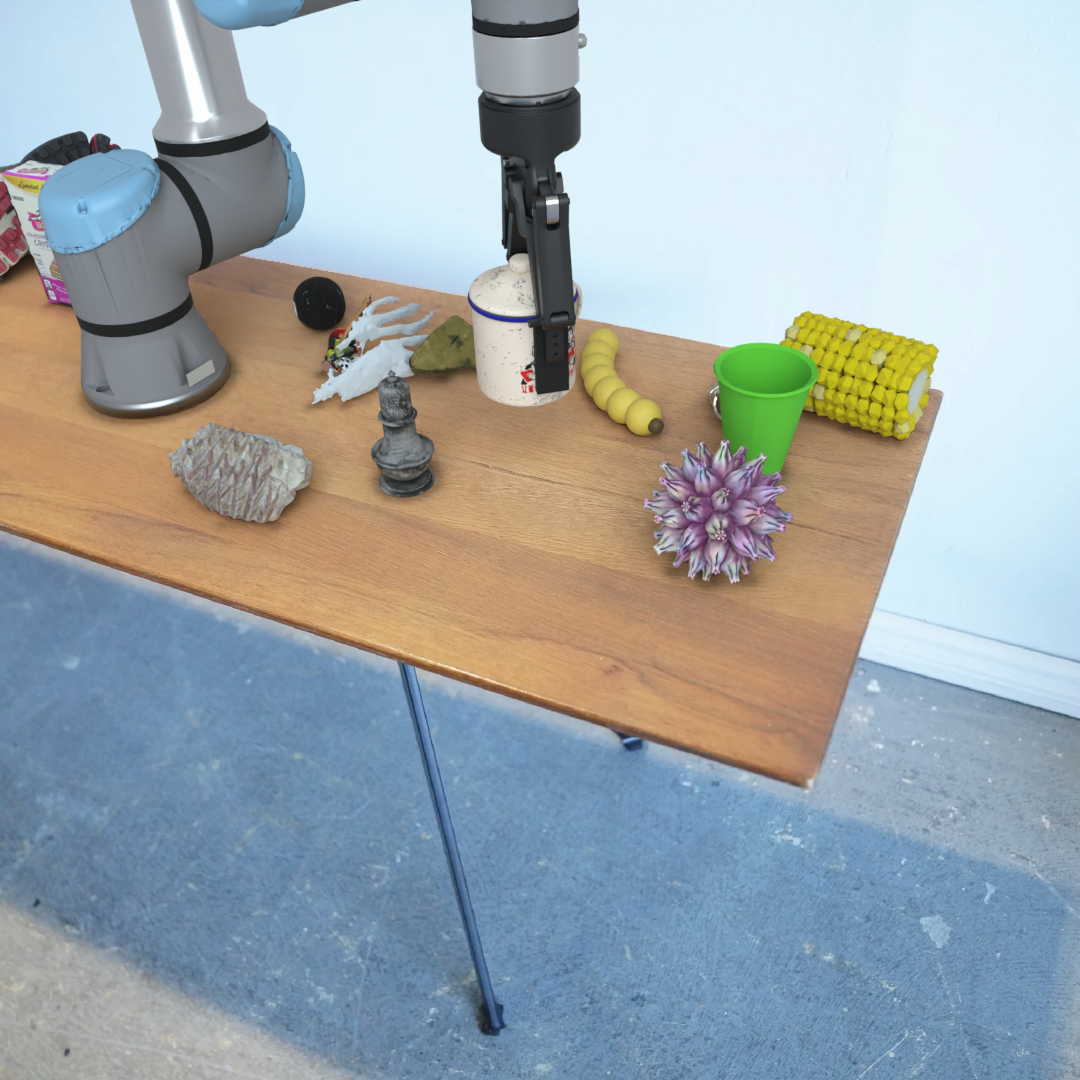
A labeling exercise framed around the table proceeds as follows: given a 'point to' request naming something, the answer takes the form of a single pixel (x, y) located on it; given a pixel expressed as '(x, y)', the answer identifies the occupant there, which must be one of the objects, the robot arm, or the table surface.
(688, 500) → the flower
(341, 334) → the toy figure
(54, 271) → the candy bar box
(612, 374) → the yellow segmented curved bar
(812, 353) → the food
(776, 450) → the cup
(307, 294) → the billiard ball
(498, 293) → the teacup with lid
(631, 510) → the table surface
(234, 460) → the grey ridged fossil rock
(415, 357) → the stone
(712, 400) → the ornament
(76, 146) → the running shoe
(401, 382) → the grey carved upright piece
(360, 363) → the decorative object
